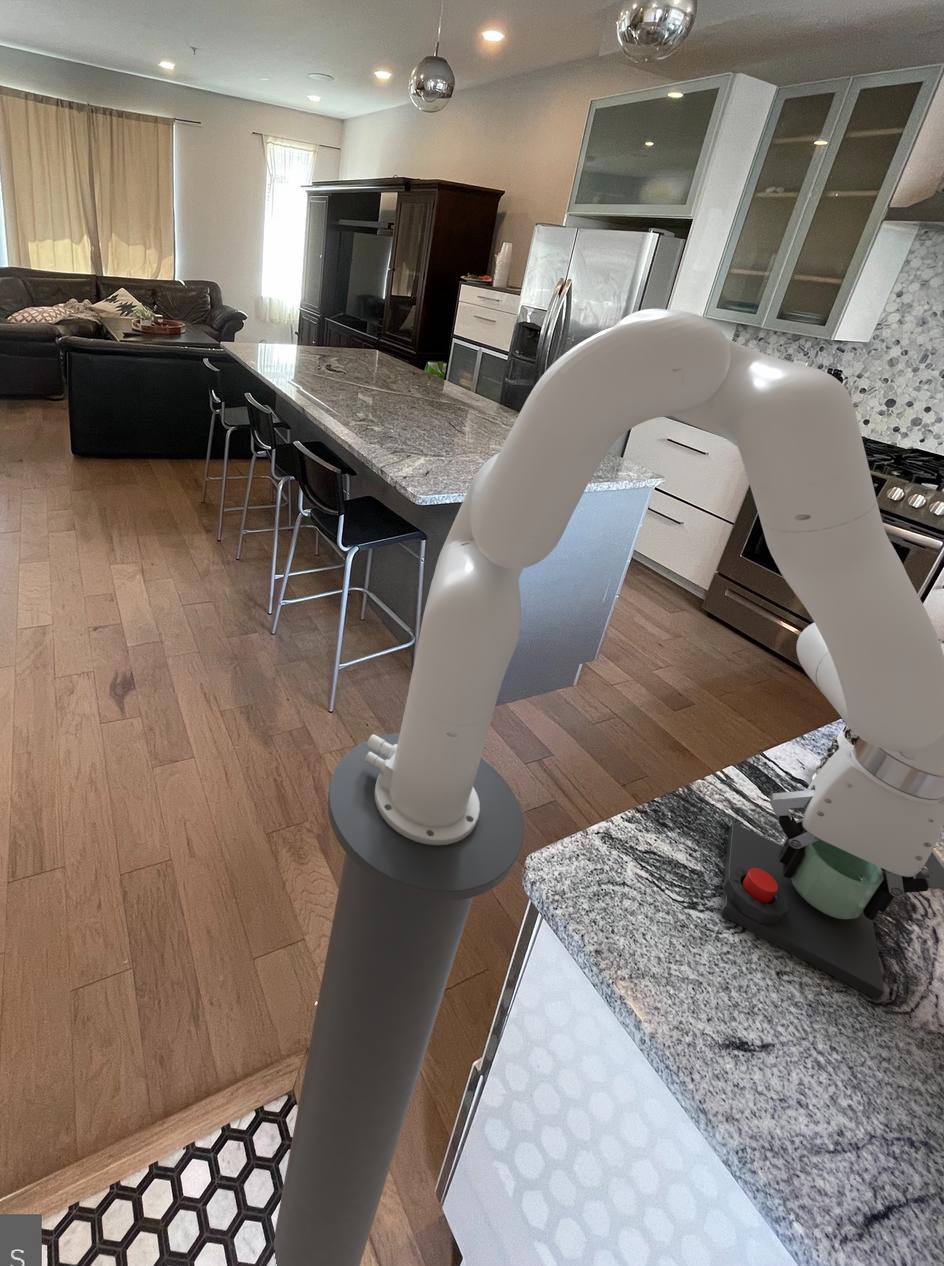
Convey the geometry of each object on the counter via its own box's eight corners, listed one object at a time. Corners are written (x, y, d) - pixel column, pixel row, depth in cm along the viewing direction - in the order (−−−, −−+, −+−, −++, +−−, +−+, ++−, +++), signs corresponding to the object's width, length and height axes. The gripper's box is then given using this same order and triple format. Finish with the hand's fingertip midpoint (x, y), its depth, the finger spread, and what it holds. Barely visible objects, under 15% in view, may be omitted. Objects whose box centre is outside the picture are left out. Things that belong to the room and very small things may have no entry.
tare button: (741, 893, 66) (748, 881, 66) (743, 874, 69) (748, 863, 68) (771, 908, 65) (778, 897, 65) (771, 889, 68) (778, 877, 67)
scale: (716, 913, 67) (727, 893, 66) (725, 828, 78) (734, 810, 77) (878, 1001, 60) (892, 981, 59) (862, 895, 72) (873, 876, 71)
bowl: (788, 897, 67) (809, 860, 65) (787, 854, 73) (806, 819, 71) (863, 935, 64) (887, 898, 62) (856, 887, 70) (878, 852, 68)
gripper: (1004, 784, 61) (916, 909, 68) (799, 705, 69) (739, 824, 75) (1029, 835, 55) (930, 966, 62) (802, 741, 62) (735, 867, 69)
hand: (825, 887), depth 68 cm, fingers closed on bowl, 6 cm apart
